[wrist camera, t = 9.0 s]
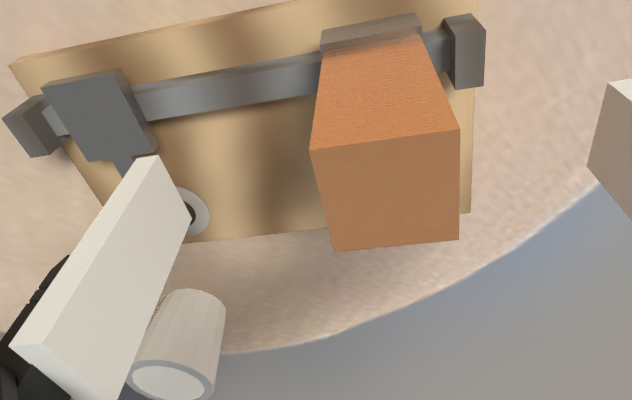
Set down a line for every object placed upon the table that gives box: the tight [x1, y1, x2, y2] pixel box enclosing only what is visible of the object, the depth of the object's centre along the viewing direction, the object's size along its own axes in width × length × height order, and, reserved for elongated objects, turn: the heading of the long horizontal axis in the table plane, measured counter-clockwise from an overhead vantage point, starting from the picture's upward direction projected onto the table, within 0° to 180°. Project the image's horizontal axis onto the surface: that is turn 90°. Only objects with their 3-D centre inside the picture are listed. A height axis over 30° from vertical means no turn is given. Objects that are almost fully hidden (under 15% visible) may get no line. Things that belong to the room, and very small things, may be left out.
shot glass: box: [125, 288, 226, 400], centre depth 34 cm, size 7×7×7 cm
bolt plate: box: [1, 0, 486, 244], centre depth 23 cm, size 24×14×4 cm, turn 102°
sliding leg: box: [309, 12, 460, 252], centre depth 18 cm, size 4×11×11 cm, turn 12°
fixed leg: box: [40, 68, 159, 179], centre depth 24 cm, size 4×11×2 cm, turn 12°
